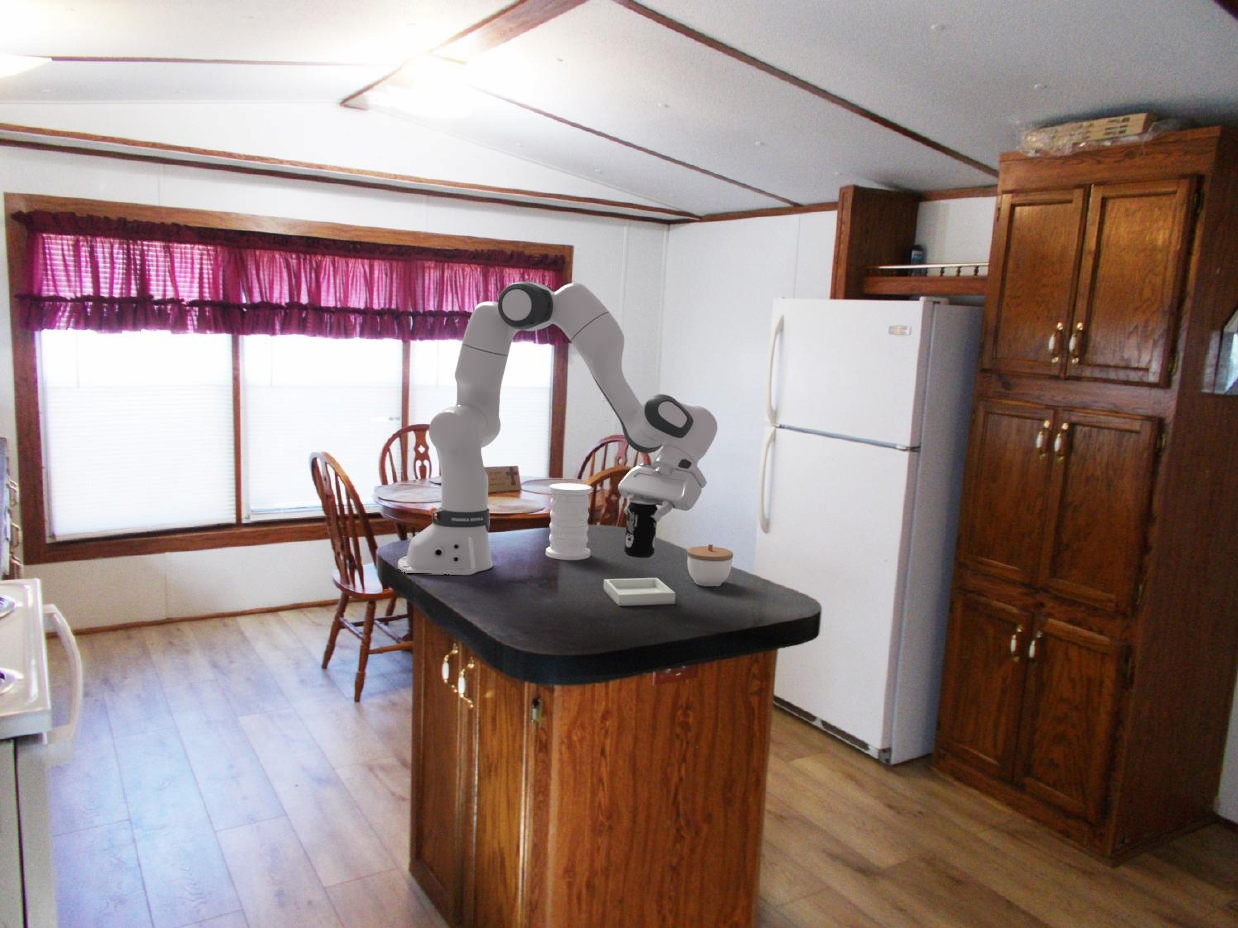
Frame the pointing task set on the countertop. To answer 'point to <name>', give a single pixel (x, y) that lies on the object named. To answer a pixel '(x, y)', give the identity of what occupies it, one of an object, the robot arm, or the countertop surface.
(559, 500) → the decorative container
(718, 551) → the lidded jar
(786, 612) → the countertop surface
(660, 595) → the tray
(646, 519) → the beverage can
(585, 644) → the countertop surface
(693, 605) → the countertop surface
